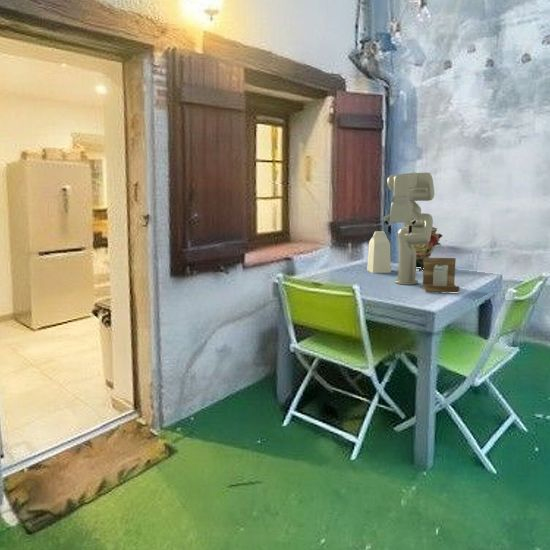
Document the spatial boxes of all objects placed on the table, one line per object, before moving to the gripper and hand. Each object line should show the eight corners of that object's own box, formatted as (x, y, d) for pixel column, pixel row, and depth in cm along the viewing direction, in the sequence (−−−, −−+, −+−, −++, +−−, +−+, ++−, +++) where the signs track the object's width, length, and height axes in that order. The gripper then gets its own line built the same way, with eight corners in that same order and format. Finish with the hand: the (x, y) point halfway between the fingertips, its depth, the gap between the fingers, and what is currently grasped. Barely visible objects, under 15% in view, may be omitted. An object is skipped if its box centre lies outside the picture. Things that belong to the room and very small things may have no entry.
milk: (372, 273, 298) (373, 232, 293) (367, 270, 309) (367, 231, 305) (390, 272, 300) (392, 232, 295) (384, 269, 311) (385, 230, 306)
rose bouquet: (399, 265, 328) (400, 222, 323) (443, 266, 318) (445, 222, 313) (395, 271, 305) (397, 225, 299) (443, 273, 295) (445, 225, 289)
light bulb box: (434, 283, 252) (435, 264, 250) (447, 284, 250) (448, 264, 248) (432, 287, 243) (433, 267, 241) (446, 288, 240) (447, 267, 238)
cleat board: (422, 286, 256) (423, 257, 253) (453, 287, 252) (455, 257, 250) (425, 292, 240) (427, 262, 237) (458, 293, 237) (460, 262, 234)
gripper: (383, 200, 234) (382, 234, 237) (419, 199, 230) (418, 234, 233) (383, 199, 241) (382, 232, 244) (418, 199, 237) (416, 233, 240)
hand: (399, 233), depth 239 cm, fingers open, 9 cm apart
